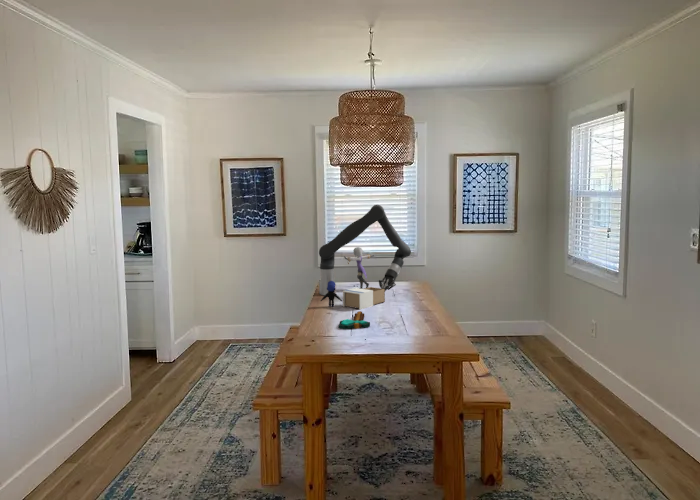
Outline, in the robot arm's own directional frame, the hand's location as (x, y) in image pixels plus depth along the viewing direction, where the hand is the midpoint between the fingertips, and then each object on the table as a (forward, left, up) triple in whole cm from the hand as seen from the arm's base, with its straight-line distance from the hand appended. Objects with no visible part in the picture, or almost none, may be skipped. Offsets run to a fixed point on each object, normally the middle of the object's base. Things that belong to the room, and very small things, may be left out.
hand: (381, 293), depth 345 cm
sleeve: (0, -23, -4) cm, 23 cm away
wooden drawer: (0, -16, -4) cm, 16 cm away
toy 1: (-13, -32, -4) cm, 34 cm away
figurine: (-34, +19, -4) cm, 39 cm away
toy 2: (+24, -53, -5) cm, 59 cm away
